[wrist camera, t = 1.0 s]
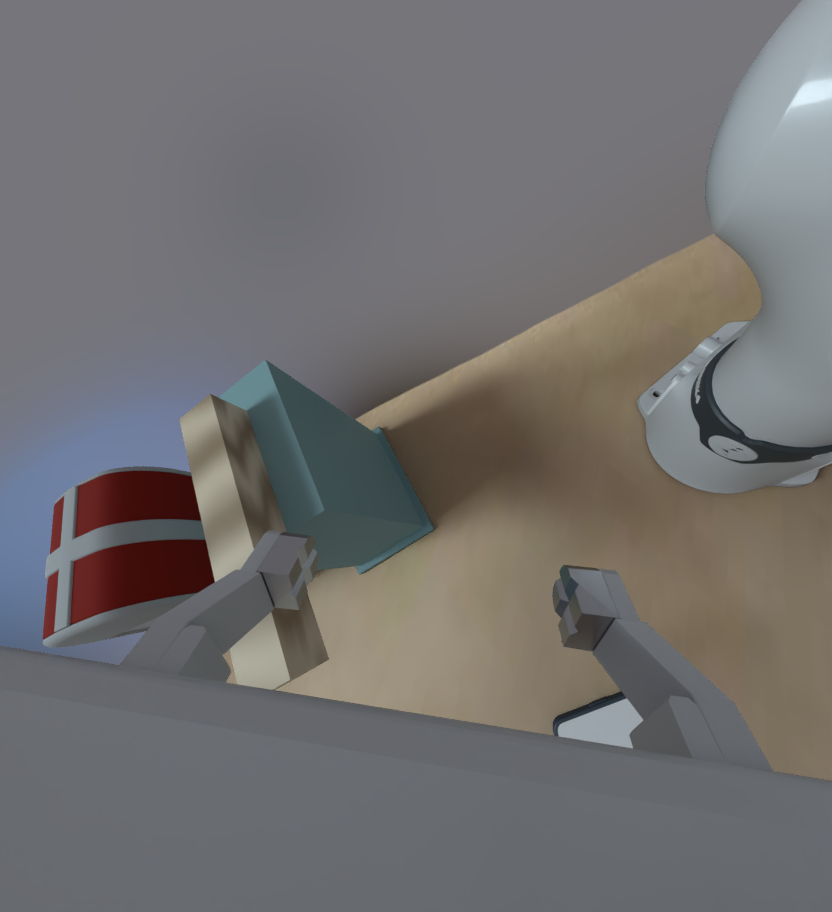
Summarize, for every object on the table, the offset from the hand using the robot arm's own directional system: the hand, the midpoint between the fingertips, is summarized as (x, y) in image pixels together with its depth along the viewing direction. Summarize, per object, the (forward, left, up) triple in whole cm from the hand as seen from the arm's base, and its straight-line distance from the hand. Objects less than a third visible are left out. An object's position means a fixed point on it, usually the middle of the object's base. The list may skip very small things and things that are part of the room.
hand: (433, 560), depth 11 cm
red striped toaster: (+31, -34, -38) cm, 60 cm away
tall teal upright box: (+9, -22, -38) cm, 45 cm away
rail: (+11, -16, -12) cm, 23 cm away
